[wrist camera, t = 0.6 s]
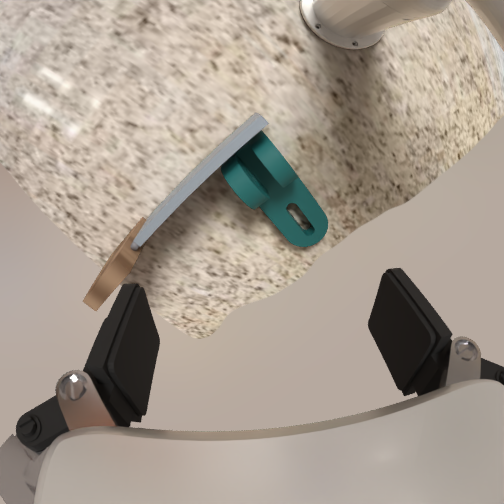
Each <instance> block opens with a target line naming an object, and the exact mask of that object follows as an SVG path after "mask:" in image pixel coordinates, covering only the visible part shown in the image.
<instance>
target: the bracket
mask: <svg viewBox="0 0 504 504" xmlns="http://www.w3.org/2000/svg"><path fill="white" fill-rule="evenodd" d="M221 171H222V174H223V176H224V178H225V179H226V181H227V182H228V184H229V185H230V187H231V188H232V189H233V191H234V192H235V193H236V194H237V195H238V196H239V198H240V199H241V200H242V201H243V202H244V203H245V204H246V205H247V206H249V207H250V208H252V209H254V210H255V209H256V208H258V207H260V208H261V209H262V210H263V212H264V213H265V214H266V215H267V216H268V217H269V219H270V220H271V221H272V222H273V223H274V224H275V226H276V227H277V228H278V229H279V230H280V231H281V233H282V234H283V235H284V236H285V237H286V239H287V240H288V241H289V242H290V243H292V244H293V245H296V246H299V247H308V246H311V245H314V244H316V243H318V242H319V241H320V240H321V239H322V238H323V237H324V236H325V234H326V232H327V229H328V219H327V217H326V215H325V213H324V212H323V210H322V209H321V207H320V206H319V205H318V203H317V202H316V200H315V199H314V198H313V196H312V195H311V193H310V192H309V191H308V189H307V188H306V187H305V185H304V184H303V182H302V181H301V180H300V178H299V177H298V175H297V174H296V173H295V171H294V170H293V169H292V167H291V166H290V165H289V164H288V162H287V161H286V160H285V158H284V157H283V156H282V155H281V153H280V152H279V151H278V150H277V148H276V147H275V146H274V145H273V143H272V142H271V141H270V140H269V138H268V137H267V136H266V135H265V134H264V133H263V131H262V130H261V131H260V132H259V133H258V134H256V135H255V136H254V137H252V138H251V139H250V140H249V141H248V142H246V143H245V144H244V145H243V146H242V147H241V148H240V149H238V150H237V151H236V152H235V153H234V154H233V155H232V156H231V157H230V158H228V159H227V160H226V161H225V162H224V163H223V164H222V166H221ZM290 203H295V204H297V206H298V207H299V208H300V210H301V211H302V212H303V214H304V215H305V216H306V217H307V219H308V220H309V221H310V223H311V227H310V228H309V229H307V230H305V229H302V227H301V226H300V225H299V224H298V222H297V221H296V220H295V219H294V217H293V216H292V215H291V214H290V212H289V211H288V210H287V209H286V207H287V205H288V204H290Z"/></svg>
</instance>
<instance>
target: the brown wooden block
mask: <svg viewBox="0 0 504 504" xmlns="http://www.w3.org/2000/svg"><path fill="white" fill-rule="evenodd" d="M145 222H146V219H145V218H143V217H142V219H141V220H140V221H139V222H138V223H137V224H136V226H135V227H134V228H133V229H132V230H131V231H130V233H129V234H128V235H127V236H126V237H125V239H124V240H123V241H122V242H121V243H120V245H119V246H118V247H117V248H116V250H115V251H114V252H113V253H112V255H111V256H110V258H109V259H108V261H107V262H106V264H105V265H104V267H103V268H102V270H101V272H100V273H99V275H98V277H97V278H96V280H95V282H94V283H93V285H92V286H91V288H90V290H89V291H88V293H87V295H86V297H85V298H84V300H83V302H84V303H86V304H87V305H88V306H89V307H91V308H92V309H93V310H95V311H97V310H98V308H99V307H100V306H101V305H102V304H103V303H104V301H105V300H106V299H107V298H108V297H109V296H110V294H111V293H112V292H113V291H114V290H115V289H116V287H117V286H118V285H119V284H120V283H121V282H122V281H123V280H124V278H125V277H126V276H127V275H128V274H129V273H130V272H131V270H132V268H133V266H134V264H135V262H136V260H137V258H138V256H139V254H140V252H141V250H142V248H143V247H144V245H145V243H146V241H147V240H146V241H145V242H144V243H143V245H142V246H141V247H140V246H139V247H138V249H137V250H136V251H134V250H132V249H131V247H130V246H131V244H132V242H133V241H134V239H135V237H136V236H137V234H138V233H139V231H140V229H141V228H142V226H143V225H144V223H145Z"/></svg>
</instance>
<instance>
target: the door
mask: <svg viewBox="0 0 504 504" xmlns="http://www.w3.org/2000/svg"><path fill="white" fill-rule="evenodd" d="M268 124H269V123H268V122H267V121H266V120H265V119H264V118H263V117H262V115H260V114H258V113H255V114H254V115H252V116H251V117H250V118H249V119H248V120H247V121H245V122H244V123H243V124H242V125H241V126H240V127H238V128H237V129H236V130H235V131H234V132H233V133H232V134H231V135H229V136H228V137H227V138H226V139H225V140H224V141H223V142H222V143H221V144H220V145H218V146H217V147H216V148H215V149H214V150H213V151H212V152H211V153H210V154H209V155H208V156H207V157H206V158H205V159H204V160H203V161H202V162H201V163H200V164H199V165H197V166H196V167H195V168H194V169H193V170H192V171H191V172H190V173H189V174H188V175H187V176H186V177H185V178H184V179H183V180H182V181H181V182H180V184H179V185H178V186H177V187H176V188H175V189H174V190H173V191H172V192H171V193H170V194H169V195H168V196H167V197H166V198H165V199H164V200H163V201H162V202H161V204H160V205H159V206H158V207H157V208H156V209H155V210H154V211H153V212H152V213H151V214H150V216H149V217H148V219H147V220H146V222H145V223H144V225H143V226H142V228H141V229H140V231H139V233H138V234H137V236H136V237H135V239H134V241H133V242H132V244H131V246H130V247H131V249H132V250H134V251H136V250H137V249H138V247H139V246H140V247H141V246H142V245H143V243H144V242H145V241H146V240H147V239H148V238H149V237H150V236H151V235H152V234H153V233H154V231H155V230H156V229H157V228H158V227H159V226H160V225H161V224H162V223H163V222H164V221H165V220H166V219H167V218H168V217H169V216H170V215H171V214H172V213H173V212H174V211H175V209H176V208H177V207H178V206H179V205H180V204H181V203H182V202H183V201H184V200H185V199H186V198H187V197H188V196H189V195H190V194H191V193H192V192H193V191H194V190H196V189H197V188H198V187H199V186H200V185H201V184H202V183H203V182H204V181H205V180H206V179H207V178H208V177H209V176H210V175H211V174H212V173H213V172H214V171H215V170H216V169H218V168H219V167H220V166H221V165H222V164H223V163H224V162H225V161H226V160H227V159H228V158H230V157H231V156H232V155H233V154H234V153H235V152H236V151H237V150H238V149H240V148H241V147H242V146H243V145H244V144H245V143H246V142H248V141H249V140H250V139H251V138H252V137H253V136H255V135H256V134H257V133H258V132H259V131H260V130H262V129H263V128H264V127H265V126H266V125H268Z"/></svg>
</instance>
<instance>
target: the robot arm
mask: <svg viewBox="0 0 504 504" xmlns="http://www.w3.org/2000/svg"><path fill="white" fill-rule="evenodd" d="M451 1H452V0H300V10H301V13H302V16H303V18H304V20H305V22H306V23H307V25H308V26H309V27H310V29H311V30H312V31H313V32H314V33H315V34H316V35H318V36H319V37H320V38H322V39H323V40H325V41H326V42H328V43H330V44H332V45H334V46H337V47H341V48H344V49H351V50H353V49H363V48H367V47H369V46H372V45H374V44H375V43H377V42H378V41H379V40H380V39H381V38H382V36H383V34H384V32H385V30H386V29H389V28H392V27H395V26H398V25H401V24H404V23H408V22H411V21H415V20H418V19H422V18H426V17H430V16H434V15H437V14H439V13H441V12H443V11H444V10H445V9H446V8H447V7H448V6H449V5H450V3H451ZM465 1H466V2H467V3H468V4H469V5H470V6H471V7H472V8H473V9H474V10H475V12H476V13H477V14H478V15H479V17H480V18H481V19H482V21H483V22H484V23H485V25H486V26H487V27H488V29H489V30H490V32H491V33H492V35H493V36H494V38H495V39H496V40H497V42H498V44H499V45H500V46H501V48H502V49H503V51H504V0H465ZM315 26H317V27H318V29H317V28H316V27H315ZM352 43H353V44H354V45H353V44H352ZM368 327H369V330H370V332H371V334H372V336H373V338H374V340H375V342H376V344H377V346H378V348H379V350H380V352H381V354H382V356H383V358H384V360H385V362H386V364H387V367H388V369H389V371H390V373H391V375H392V377H393V379H394V382H395V384H396V386H397V388H398V389H399V390H402V393H403V395H404V396H406V395H410V394H413V393H415V392H416V393H417V395H418V396H417V397H415V398H412V399H409V400H406V401H403V402H400V403H396V404H393V405H390V406H386V407H383V408H379V409H376V410H372V411H368V412H364V413H360V414H356V415H351V416H347V417H343V418H337V419H333V420H328V421H322V422H316V423H310V424H303V425H296V426H289V427H281V428H271V429H260V430H246V431H245V430H244V431H217V432H216V431H215V432H214V431H213V432H210V431H209V432H208V431H207V432H205V431H172V430H155V429H144V428H131V427H129V426H130V423H131V421H133V422H141V418H142V415H146V411H147V405H148V401H149V395H150V390H151V384H152V379H153V374H154V369H155V364H156V359H157V354H158V350H159V344H160V339H159V335H158V332H157V329H156V326H155V323H154V320H153V317H152V314H151V310H150V307H149V304H148V300H147V297H146V294H145V290H144V288H143V287H140V286H139V285H138V284H123V286H122V287H121V290H120V291H119V294H118V296H117V298H116V300H115V302H114V304H113V306H112V308H111V311H110V313H109V315H108V317H107V318H106V319H105V320H104V322H103V324H102V326H101V328H100V330H99V333H98V335H97V337H96V340H95V342H94V345H93V347H92V349H91V352H90V354H89V357H88V359H87V362H86V364H85V367H84V369H83V371H80V370H72V371H69V372H67V373H66V374H64V375H63V376H62V377H61V378H60V379H59V380H58V382H57V385H56V389H55V391H56V396H54V397H52V398H51V399H49V400H47V401H46V402H44V403H42V404H40V405H39V406H37V407H35V408H34V409H32V410H30V411H28V412H27V413H25V414H24V415H22V416H21V417H20V419H19V420H18V422H17V425H16V436H14V435H13V434H12V435H11V436H10V437H9V438H8V439H7V440H6V441H5V443H4V444H3V445H2V446H1V447H0V495H1V497H2V498H3V500H4V501H5V503H6V504H504V367H502V366H500V365H497V364H495V363H492V362H490V361H487V360H485V359H483V358H481V352H480V349H479V347H478V346H477V344H476V343H475V342H474V341H473V340H471V339H469V338H467V337H457V338H455V339H454V340H453V341H452V340H451V339H450V338H451V336H452V333H451V331H450V330H449V328H448V327H447V326H446V324H445V323H444V322H443V320H442V319H441V317H440V316H439V315H438V313H437V312H436V311H435V310H434V308H433V307H432V306H431V304H430V303H429V302H428V300H427V299H426V298H425V297H424V295H423V294H422V293H421V292H420V290H419V289H418V288H417V287H416V286H415V284H414V283H413V282H412V281H411V279H410V278H409V277H408V276H407V275H406V274H405V273H404V271H403V270H402V269H401V268H394V269H388V270H387V271H386V272H385V273H384V274H383V275H382V278H381V282H380V286H379V289H378V292H377V296H376V299H375V302H374V306H373V309H372V312H371V315H370V319H369V321H368Z"/></svg>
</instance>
